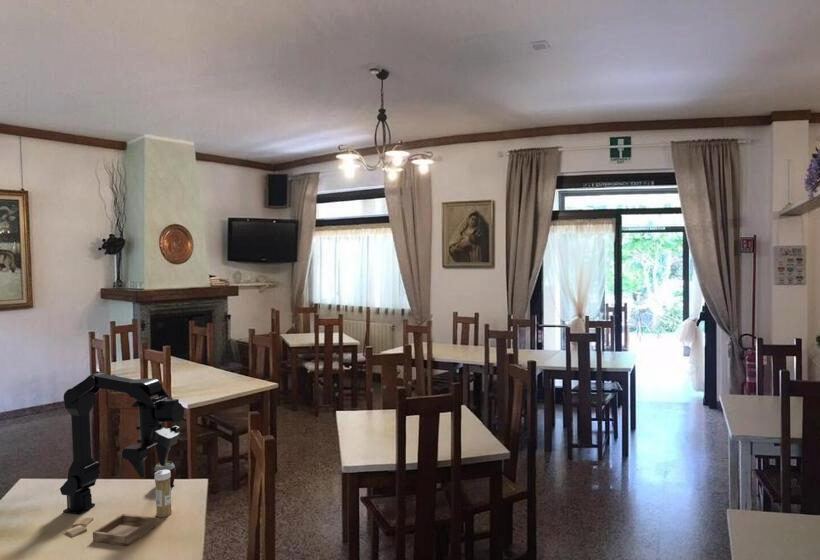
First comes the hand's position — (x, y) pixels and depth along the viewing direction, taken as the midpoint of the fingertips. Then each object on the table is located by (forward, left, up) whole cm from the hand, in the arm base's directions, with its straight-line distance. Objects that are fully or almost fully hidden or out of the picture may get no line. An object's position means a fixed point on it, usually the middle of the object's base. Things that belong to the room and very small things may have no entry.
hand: (152, 471), depth 172 cm
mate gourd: (-12, +21, -15) cm, 28 cm away
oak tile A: (-19, -8, -15) cm, 25 cm away
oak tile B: (-17, -13, -15) cm, 26 cm away
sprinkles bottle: (+1, +3, -15) cm, 15 cm away
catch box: (-2, -10, -15) cm, 18 cm away
